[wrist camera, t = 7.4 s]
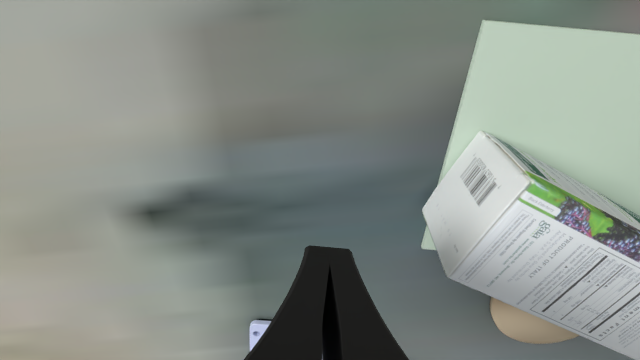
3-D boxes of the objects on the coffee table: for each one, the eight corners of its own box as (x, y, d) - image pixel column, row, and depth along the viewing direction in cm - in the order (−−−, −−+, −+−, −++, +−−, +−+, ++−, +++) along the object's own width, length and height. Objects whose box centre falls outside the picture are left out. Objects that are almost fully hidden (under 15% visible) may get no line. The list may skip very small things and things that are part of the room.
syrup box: (480, 125, 20) (685, 232, 23) (415, 212, 22) (607, 299, 25) (531, 178, 15) (787, 309, 18) (440, 283, 17) (676, 382, 20)
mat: (675, 265, 24) (679, 269, 24) (421, 245, 24) (422, 248, 24) (829, 51, 18) (836, 52, 18) (482, 19, 17) (484, 20, 17)
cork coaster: (585, 341, 28) (589, 347, 28) (475, 333, 28) (477, 339, 27) (640, 256, 24) (646, 262, 24) (512, 246, 24) (515, 251, 23)
